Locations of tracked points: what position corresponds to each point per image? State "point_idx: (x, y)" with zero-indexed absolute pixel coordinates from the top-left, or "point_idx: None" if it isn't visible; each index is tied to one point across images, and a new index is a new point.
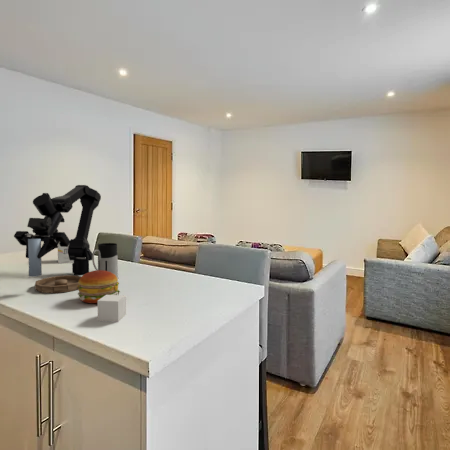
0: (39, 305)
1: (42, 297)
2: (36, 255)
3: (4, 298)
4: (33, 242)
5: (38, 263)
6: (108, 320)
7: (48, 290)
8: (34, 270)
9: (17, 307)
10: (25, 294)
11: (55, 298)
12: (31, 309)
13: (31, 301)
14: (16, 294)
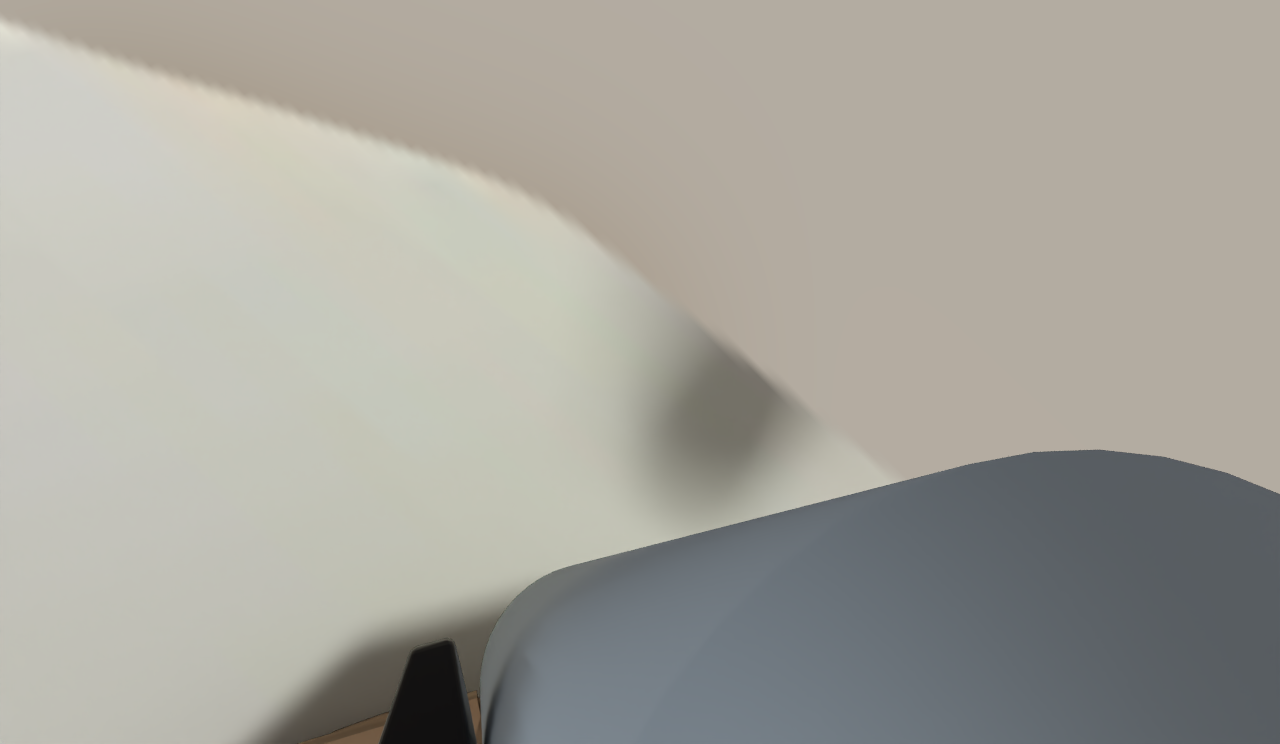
0: (54, 246)
1: (290, 522)
2: (514, 662)
3: (699, 323)
4: (695, 586)
5: (485, 691)
6: None
7: (362, 724)
8: (527, 592)
9: (263, 121)
10: (624, 540)
11: (62, 556)
12: (36, 109)
13: (290, 337)
14: (725, 496)
